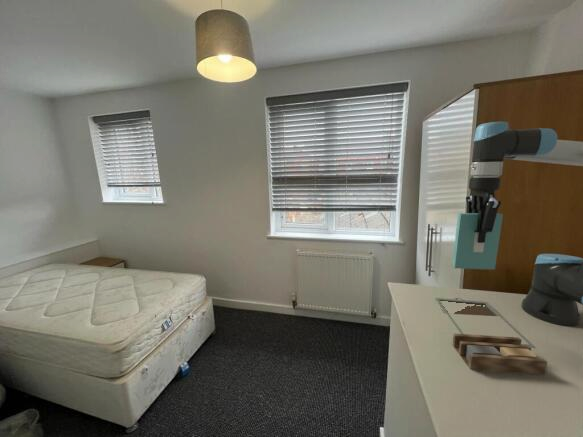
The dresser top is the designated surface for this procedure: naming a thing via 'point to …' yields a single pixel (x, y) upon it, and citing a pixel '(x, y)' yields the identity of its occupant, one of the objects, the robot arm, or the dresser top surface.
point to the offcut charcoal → (481, 350)
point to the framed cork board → (477, 313)
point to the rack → (497, 361)
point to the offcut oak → (516, 352)
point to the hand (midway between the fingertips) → (475, 250)
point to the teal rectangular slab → (465, 240)
